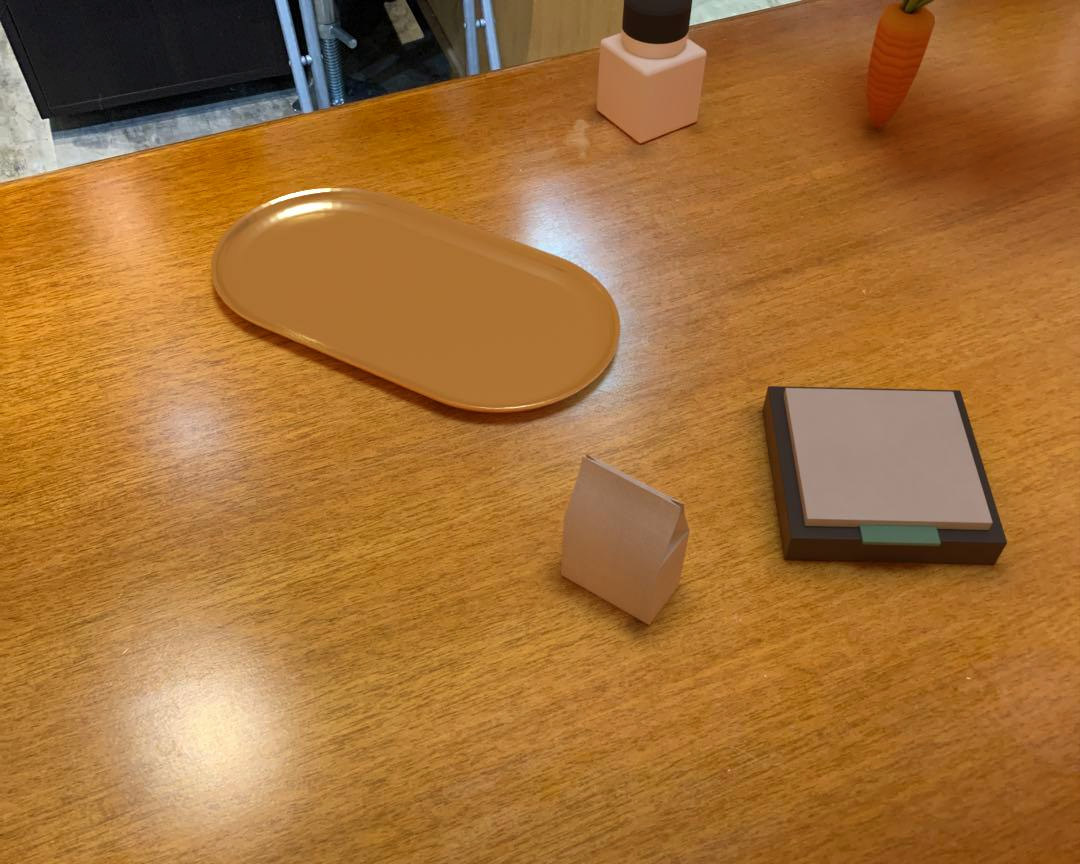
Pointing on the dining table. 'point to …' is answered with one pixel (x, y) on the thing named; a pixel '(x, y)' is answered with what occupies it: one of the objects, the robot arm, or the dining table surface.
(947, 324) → the dining table surface
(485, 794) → the dining table surface
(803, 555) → the kitchen scale
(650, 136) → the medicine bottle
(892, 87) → the carrot
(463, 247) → the serving platter
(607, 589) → the brown paper bag
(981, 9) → the dining table surface
